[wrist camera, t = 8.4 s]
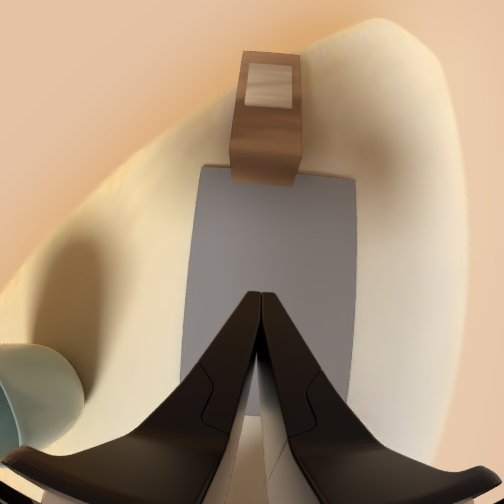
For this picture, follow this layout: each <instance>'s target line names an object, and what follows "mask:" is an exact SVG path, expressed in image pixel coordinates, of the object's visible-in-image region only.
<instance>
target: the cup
mask: <svg viewBox="0 0 504 504" xmlns="http://www.w3.org/2000/svg"><path fill="white" fill-rule="evenodd" d="M83 409H84V391H83V387H82V384H81V381H80V379H79V377H78V375H77V373H76V371H75V369H74V368H73V366H72V365H71V364H70V363H69V361H68V360H67V359H66V358H65V357H64V356H63V355H62V354H60V353H59V352H57V351H56V350H54V349H52V348H49V347H46V346H43V345H38V344H29V343H0V468H3V469H4V468H7V467H6V466H5V465H3V464H2V463H1V459H2V458H3V457H4V456H5V455H6V454H7V453H8V452H10V451H11V450H13V449H15V448H17V447H19V446H22V445H27V446H30V447H33V448H35V449H37V450H39V451H44V450H46V449H47V448H49V447H50V446H52V445H54V444H55V443H56V442H58V441H59V440H61V439H62V438H63V437H64V436H65V435H67V434H68V433H69V432H70V431H71V430H72V429H73V427H74V426H75V425H76V424H77V423H78V421H79V419H80V417H81V415H82V413H83Z"/></svg>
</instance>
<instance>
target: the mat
mask: <svg viewBox="0 0 504 504" xmlns="http://www.w3.org/2000/svg"><path fill="white" fill-rule="evenodd" d="M356 257H357V231H356V192H355V180H351V179H344V178H336V177H327V176H319V175H309V174H300V173H296V177H295V180H294V183H293V186H292V187H288V186H276V185H264V184H250V183H235V182H232V177H231V168H220V167H201V172H200V179H199V186H198V193H197V200H196V208H195V215H194V223H193V231H192V240H191V249H190V258H189V267H188V277H187V287H186V298H185V310H184V322H183V336H182V351H181V367H180V383H181V382H182V381H183V379H184V378H185V377H186V376H187V374H188V373H189V372H190V370H191V369H192V368H193V366H194V365H195V364H196V363H197V362H198V360H199V358H200V357H201V355H202V354H203V353H204V351H205V350H206V349H207V347H208V346H209V344H210V343H211V342H212V340H213V339H214V337H215V336H216V335H217V333H218V332H219V330H220V329H221V328H222V326H223V325H224V323H225V322H226V321H227V319H228V318H229V316H230V315H231V314H232V312H233V311H234V309H235V308H236V307H237V305H238V304H239V302H240V301H241V299H242V298H243V297H244V295H245V294H246V292H247V291H260V292H261V293H262V292H274V293H275V294H276V295H277V297H278V298H279V300H280V301H281V303H282V305H283V306H284V308H285V309H286V311H287V313H288V314H289V316H290V318H291V319H292V321H293V322H294V324H295V326H296V327H297V329H298V330H299V332H300V334H301V335H302V337H303V339H304V340H305V342H306V343H307V345H308V347H309V348H310V350H311V351H312V353H313V355H314V356H315V358H316V359H317V361H318V363H319V364H320V366H321V368H322V370H323V371H324V372H325V374H326V375H327V377H328V379H329V380H330V382H331V383H332V385H333V386H334V388H335V389H336V391H337V392H338V394H339V395H340V396H341V397H342V399H343V400H344V401H345V403H347V395H348V387H349V378H350V368H351V357H352V346H353V332H354V317H355V296H356ZM245 415H251V416H261V413H260V400H259V387H258V374H257V355H256V362H255V368H254V373H253V378H252V383H251V387H250V392H249V397H248V402H247V406H246V411H245Z"/></svg>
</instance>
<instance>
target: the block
mask: <svg viewBox="0 0 504 504" xmlns="http://www.w3.org/2000/svg"><path fill="white" fill-rule="evenodd" d="M229 156H230V166H231V177H232V182H235V183H250V184H264V185H276V186H288V187H292V186H293V183H294V180H295V177H296V173H297V170H298V167H299V164H300V160H301V157H302V118H301V76H300V55H292V54H282V53H270V52H256V51H243V55H242V61H241V68H240V75H239V81H238V88H237V95H236V102H235V109H234V116H233V124H232V131H231V139H230V146H229Z"/></svg>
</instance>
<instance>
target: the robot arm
mask: <svg viewBox="0 0 504 504" xmlns="http://www.w3.org/2000/svg"><path fill="white" fill-rule="evenodd" d="M256 355H257V374H258V387H259V400H260V413H261V426H262V438H263V451H264V463H265V476H266V489H267V501H268V504H474V500H473V499H474V498H476V497H478V496H480V495H482V494H484V493H486V492H488V491H489V490H491V489H493V488H495V487H497V486H498V485H500V484H501V483H502V481H501V479H500V478H499V476H498V475H497V474H496V473H494V472H493V471H491V470H490V469H488V468H486V467H484V466H476V467H473V468H470V469H467V470H465V471H461V472H447V471H442V470H439V469H436V468H433V467H431V466H428V465H426V464H423V463H421V462H418V461H416V460H414V459H411V458H409V457H406V456H404V455H402V454H400V453H397V452H395V451H393V450H391V449H389V448H387V447H385V446H384V445H383V444H381V443H380V442H379V441H378V440H377V439H376V438H375V437H374V436H373V435H372V434H371V433H370V432H369V430H368V429H367V428H366V427H365V426H364V424H363V423H362V422H361V421H360V420H359V418H358V417H357V416H356V415H355V414H354V412H353V411H352V410H351V409H350V408H349V406H348V405H347V404H346V403H345V401H344V400H343V399H342V397H341V396H340V395H339V394H338V392H337V391H336V389H335V388H334V386H333V385H332V383H331V382H330V380H329V379H328V377H327V375H326V374H325V372H324V371H323V370H322V368H321V366H320V364H319V363H318V361H317V359H316V358H315V356H314V355H313V353H312V351H311V350H310V348H309V347H308V345H307V343H306V342H305V340H304V339H303V337H302V335H301V334H300V332H299V330H298V329H297V327H296V326H295V324H294V322H293V321H292V319H291V318H290V316H289V314H288V313H287V311H286V309H285V308H284V306H283V305H282V303H281V301H280V300H279V298H278V297H277V295H276V294H275V293H274V292H262V293H261V292H260V291H247V292H246V294H245V295H244V297H243V298H242V299H241V301H240V302H239V304H238V305H237V307H236V308H235V309H234V311H233V312H232V314H231V315H230V316H229V318H228V319H227V321H226V322H225V323H224V325H223V326H222V328H221V329H220V330H219V332H218V333H217V335H216V336H215V337H214V339H213V340H212V342H211V343H210V344H209V346H208V347H207V349H206V350H205V351H204V353H203V354H202V355H201V357H200V358H199V360H198V362H197V363H196V364H195V365H194V366H193V368H192V369H191V370H190V372H189V373H188V374H187V376H186V377H185V378H184V379H183V381H182V382H181V383H180V384H179V385H178V386H177V388H176V389H175V390H174V391H173V392H172V393H171V394H170V395H169V396H168V397H167V398H166V399H165V400H164V401H163V402H162V403H161V404H160V405H159V406H158V407H157V408H156V409H155V410H154V411H153V412H152V413H151V414H150V415H149V416H148V417H147V418H146V419H145V420H144V421H143V422H142V423H141V424H140V425H139V426H138V427H137V428H135V429H134V430H133V431H131V432H130V433H128V434H126V435H124V436H122V437H120V438H117V439H115V440H112V441H109V442H107V443H104V444H101V445H98V446H96V447H93V448H90V449H87V450H84V451H81V452H78V453H75V454H71V455H67V456H54V455H49V454H46V453H44V452H42V451H39V450H37V449H35V448H33V447H30V446H27V445H22V446H19V447H17V448H15V449H13V450H11V451H10V452H8V453H7V454H6V455H5V456H4V457H3V458H2V459H1V463H2V464H3V465H5V466H6V467H7V468H9V469H10V470H12V471H13V472H15V473H17V474H18V475H20V476H21V477H23V478H25V479H26V480H28V481H30V482H31V483H33V484H35V485H36V486H38V487H40V488H42V489H44V493H43V496H42V500H41V504H225V501H226V496H227V492H228V488H229V483H230V479H231V475H232V470H233V466H234V461H235V457H236V453H237V448H238V444H239V439H240V434H241V430H242V425H243V421H244V416H245V411H246V406H247V402H248V397H249V392H250V387H251V383H252V378H253V373H254V368H255V362H256ZM0 504H40V503H39V502H37V501H35V500H33V499H32V498H30V497H28V496H26V495H24V494H22V493H21V492H19V491H17V490H15V489H14V488H12V487H10V486H9V485H7V484H5V483H4V482H2V481H0ZM494 504H504V499H502V500H500V501H498V502H496V503H494Z"/></svg>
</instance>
